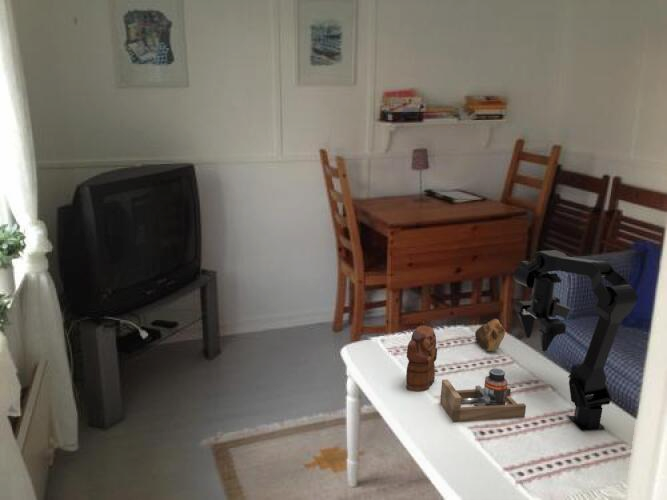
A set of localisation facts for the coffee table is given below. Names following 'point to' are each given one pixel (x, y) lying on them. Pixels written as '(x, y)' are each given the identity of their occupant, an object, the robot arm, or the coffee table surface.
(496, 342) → the decorative rock
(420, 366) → the wooden figurine
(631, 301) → the robot arm
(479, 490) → the coffee table surface
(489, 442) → the coffee table surface
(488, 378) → the supplement bottle
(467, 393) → the wooden tray
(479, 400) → the pusher
